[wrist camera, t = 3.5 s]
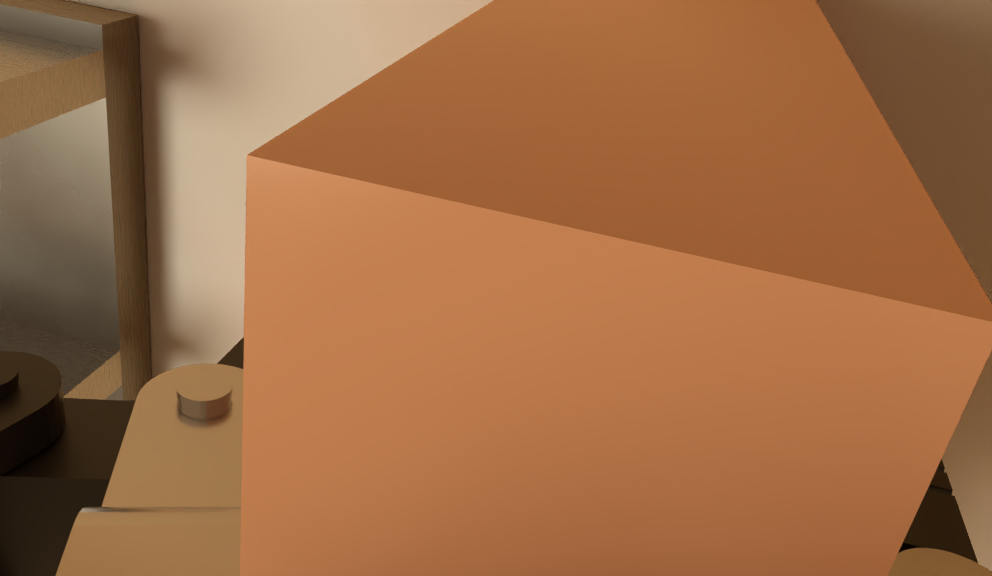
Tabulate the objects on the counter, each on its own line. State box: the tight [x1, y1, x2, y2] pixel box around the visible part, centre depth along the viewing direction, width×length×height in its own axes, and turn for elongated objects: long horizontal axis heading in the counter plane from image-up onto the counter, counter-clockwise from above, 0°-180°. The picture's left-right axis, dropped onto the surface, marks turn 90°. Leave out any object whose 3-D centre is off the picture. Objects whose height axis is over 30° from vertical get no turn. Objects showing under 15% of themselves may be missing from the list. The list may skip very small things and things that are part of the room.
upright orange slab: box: [240, 0, 992, 576], centre depth 11 cm, size 10×3×11 cm, turn 172°
